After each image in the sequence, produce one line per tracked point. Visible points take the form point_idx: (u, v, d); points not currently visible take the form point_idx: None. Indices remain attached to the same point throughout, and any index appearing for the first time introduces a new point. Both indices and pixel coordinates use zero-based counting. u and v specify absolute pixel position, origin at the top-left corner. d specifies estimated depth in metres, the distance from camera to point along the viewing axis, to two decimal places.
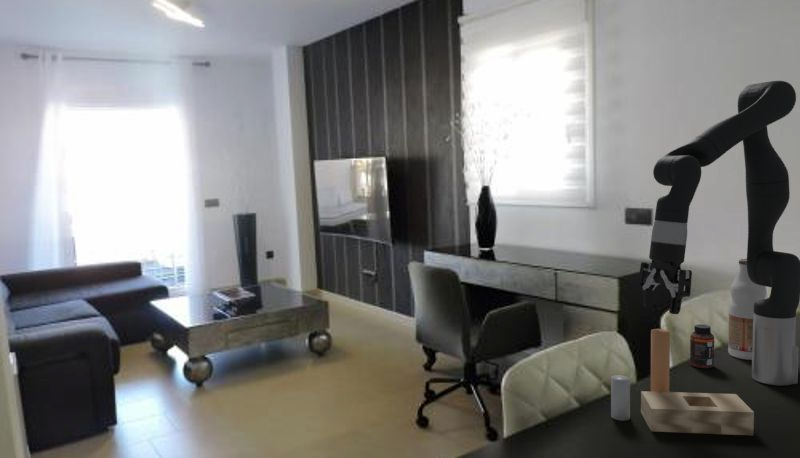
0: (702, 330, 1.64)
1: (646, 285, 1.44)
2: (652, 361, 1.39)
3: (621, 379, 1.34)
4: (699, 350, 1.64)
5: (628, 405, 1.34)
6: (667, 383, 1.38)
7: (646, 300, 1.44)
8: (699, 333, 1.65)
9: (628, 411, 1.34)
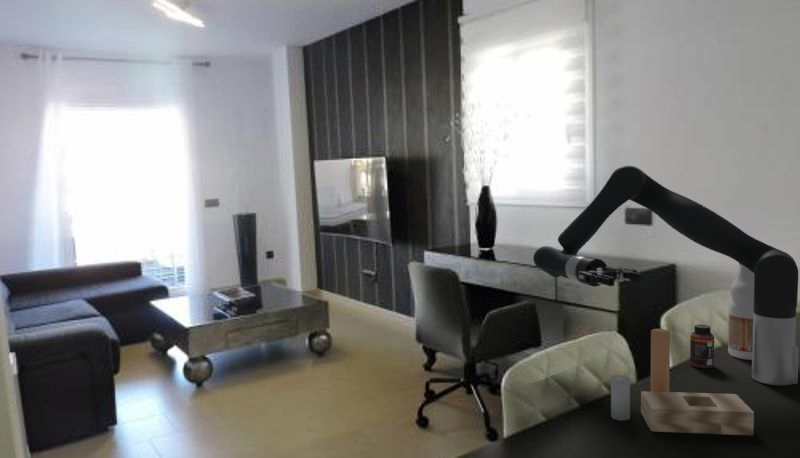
0: (702, 330, 1.64)
1: None
2: (652, 361, 1.39)
3: (621, 379, 1.34)
4: (699, 350, 1.64)
5: (628, 405, 1.34)
6: (667, 383, 1.38)
7: (636, 281, 1.51)
8: (699, 333, 1.65)
9: (628, 411, 1.34)
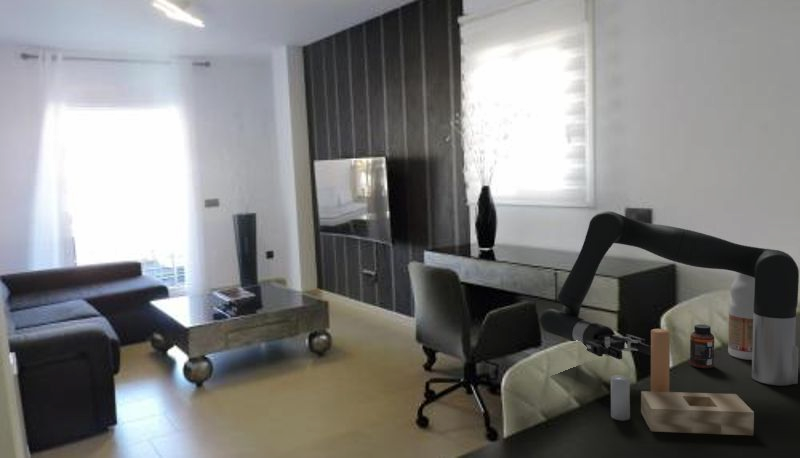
0: (702, 330, 1.64)
1: None
2: (652, 361, 1.39)
3: (621, 379, 1.34)
4: (699, 350, 1.64)
5: (628, 405, 1.34)
6: (667, 383, 1.38)
7: (644, 352, 1.50)
8: (699, 333, 1.65)
9: (628, 411, 1.34)
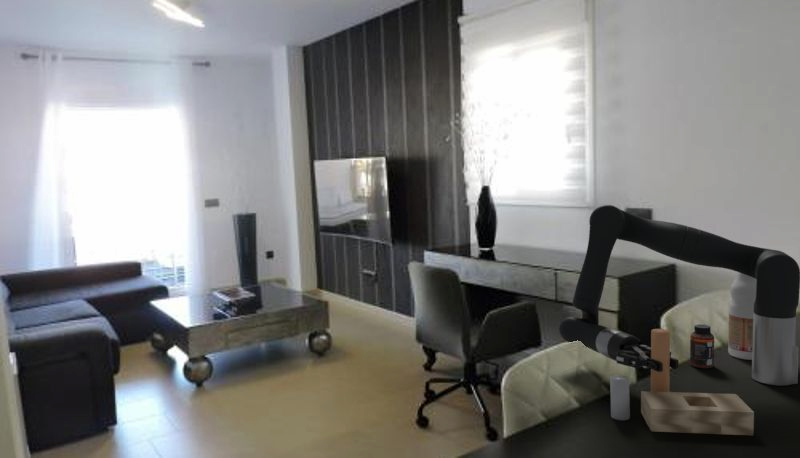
0: (702, 330, 1.64)
1: None
2: None
3: (620, 379, 1.34)
4: (699, 350, 1.64)
5: (628, 404, 1.34)
6: (667, 383, 1.38)
7: (671, 366, 1.39)
8: (699, 333, 1.65)
9: (628, 411, 1.34)
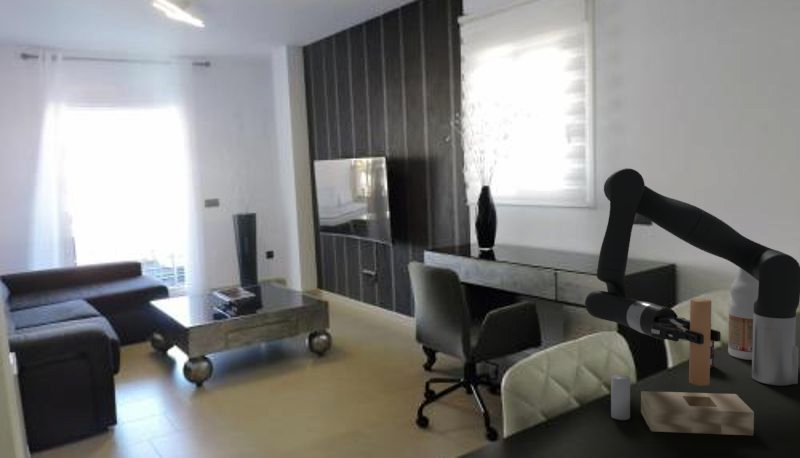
0: None
1: None
2: None
3: (621, 378, 1.34)
4: None
5: (628, 404, 1.34)
6: (708, 357, 1.28)
7: (712, 339, 1.28)
8: None
9: (628, 410, 1.34)
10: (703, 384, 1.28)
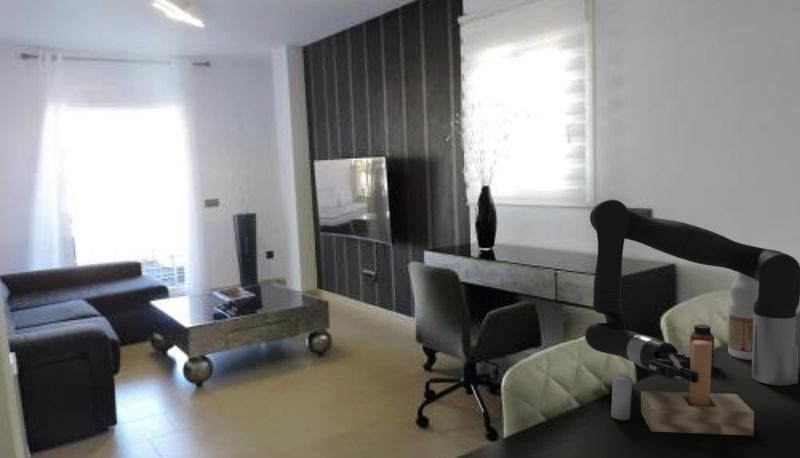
0: (702, 330, 1.64)
1: None
2: None
3: (624, 379, 1.34)
4: None
5: (629, 404, 1.34)
6: (708, 399, 1.28)
7: (714, 375, 1.30)
8: (699, 333, 1.65)
9: (629, 410, 1.34)
10: None
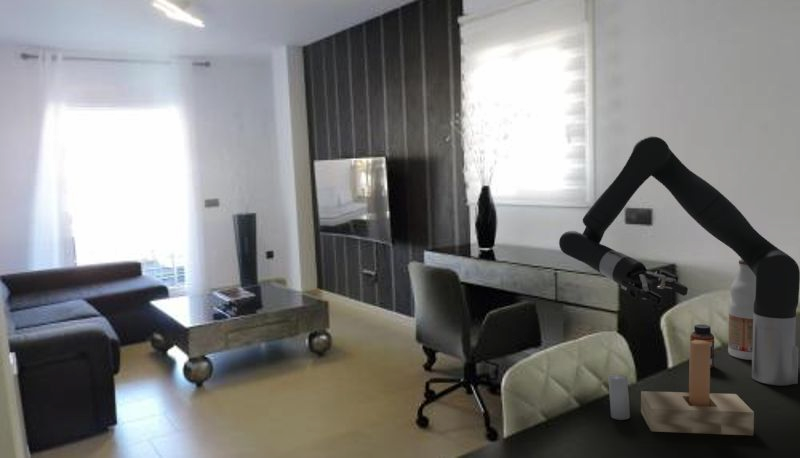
0: (702, 330, 1.64)
1: None
2: (691, 375, 1.29)
3: (620, 378, 1.34)
4: None
5: (628, 403, 1.34)
6: (707, 399, 1.29)
7: (679, 292, 1.47)
8: (699, 333, 1.65)
9: (628, 409, 1.34)
10: None
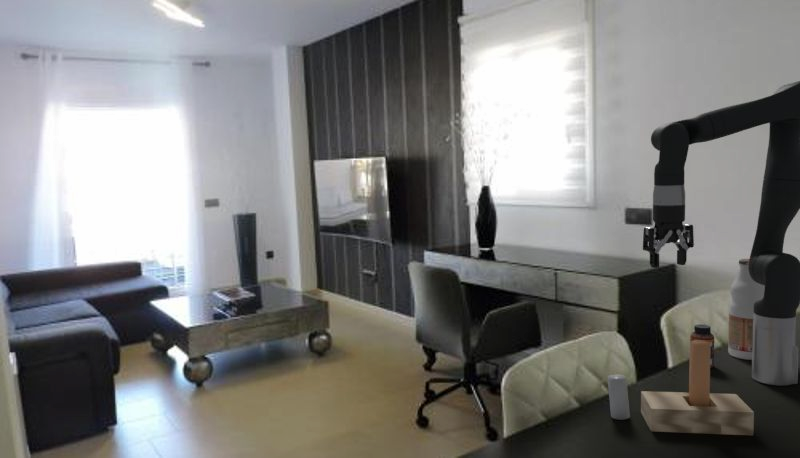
0: (702, 330, 1.64)
1: None
2: (691, 375, 1.29)
3: (620, 378, 1.34)
4: None
5: (628, 402, 1.35)
6: (707, 399, 1.29)
7: (677, 258, 1.56)
8: (699, 333, 1.65)
9: None
10: None
